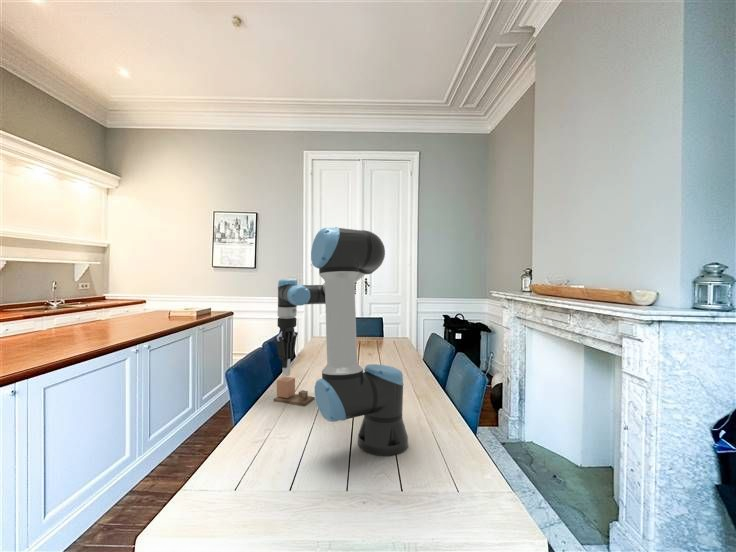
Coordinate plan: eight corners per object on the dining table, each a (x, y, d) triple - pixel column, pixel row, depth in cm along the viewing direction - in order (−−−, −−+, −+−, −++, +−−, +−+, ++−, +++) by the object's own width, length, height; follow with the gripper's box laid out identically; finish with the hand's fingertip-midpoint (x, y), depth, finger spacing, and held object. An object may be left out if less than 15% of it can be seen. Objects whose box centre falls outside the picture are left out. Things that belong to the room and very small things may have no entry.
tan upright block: (287, 398, 137) (287, 381, 137) (276, 396, 139) (276, 379, 139) (294, 393, 142) (295, 377, 142) (284, 392, 144) (284, 376, 144)
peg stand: (314, 399, 140) (314, 380, 140) (304, 406, 132) (304, 386, 132) (285, 394, 145) (285, 376, 145) (273, 401, 137) (274, 382, 137)
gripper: (285, 319, 133) (284, 380, 133) (303, 315, 145) (302, 371, 145) (269, 318, 135) (268, 378, 135) (288, 314, 147) (287, 369, 148)
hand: (286, 374), depth 140 cm, fingers closed
